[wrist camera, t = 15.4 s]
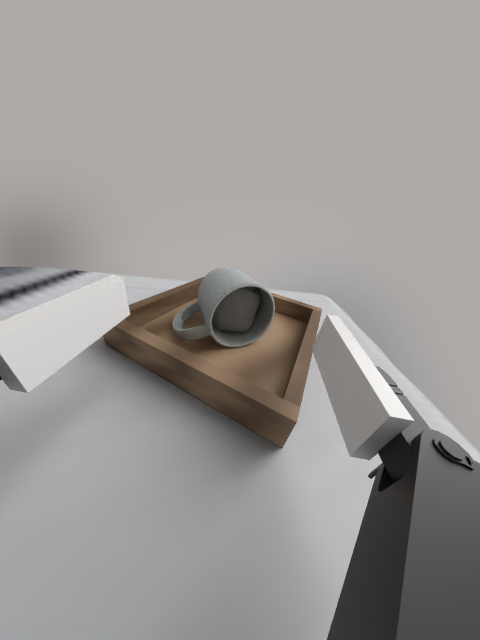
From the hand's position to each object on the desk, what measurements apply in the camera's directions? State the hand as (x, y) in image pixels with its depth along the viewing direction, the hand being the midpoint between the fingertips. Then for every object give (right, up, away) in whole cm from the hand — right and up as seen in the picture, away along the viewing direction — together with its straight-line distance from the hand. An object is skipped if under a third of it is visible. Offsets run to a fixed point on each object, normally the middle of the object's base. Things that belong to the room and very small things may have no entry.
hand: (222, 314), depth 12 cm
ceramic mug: (-2, -2, +11) cm, 12 cm away
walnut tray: (0, -2, +13) cm, 13 cm away
